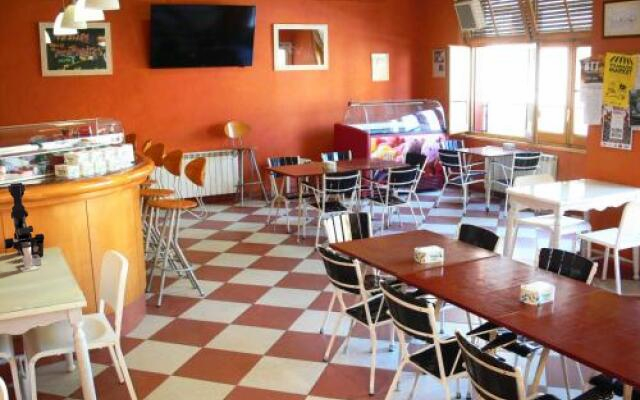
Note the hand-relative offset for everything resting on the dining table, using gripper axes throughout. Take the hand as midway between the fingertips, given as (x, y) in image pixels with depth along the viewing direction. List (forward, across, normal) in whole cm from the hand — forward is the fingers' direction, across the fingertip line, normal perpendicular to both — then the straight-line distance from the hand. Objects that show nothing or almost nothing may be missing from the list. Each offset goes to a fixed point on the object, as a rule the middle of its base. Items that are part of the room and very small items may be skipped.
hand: (27, 254), depth 337 cm
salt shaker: (+4, 0, +6) cm, 7 cm away
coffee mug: (-12, +7, +23) cm, 27 cm away
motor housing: (-1, +3, +12) cm, 13 cm away
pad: (+5, 0, +7) cm, 8 cm away
